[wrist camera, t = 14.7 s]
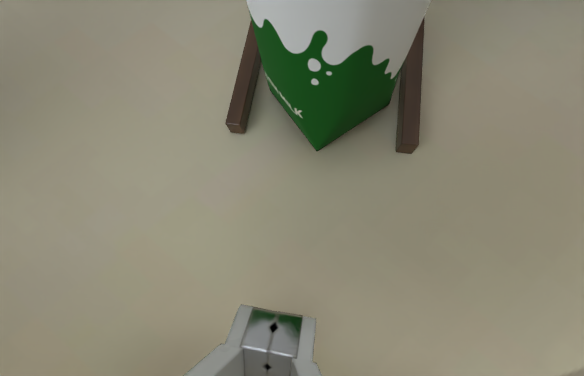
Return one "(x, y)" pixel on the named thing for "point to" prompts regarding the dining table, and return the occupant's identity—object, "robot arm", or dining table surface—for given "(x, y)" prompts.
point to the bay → (407, 100)
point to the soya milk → (333, 57)
